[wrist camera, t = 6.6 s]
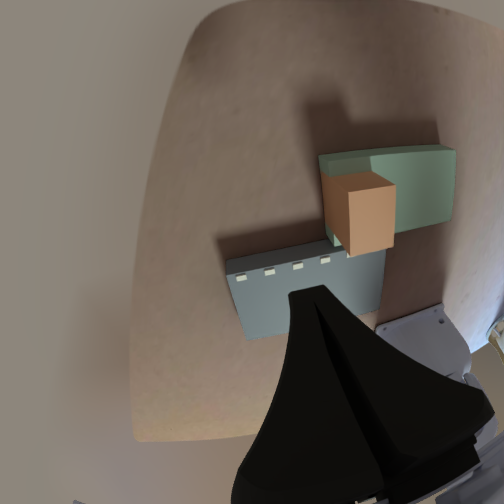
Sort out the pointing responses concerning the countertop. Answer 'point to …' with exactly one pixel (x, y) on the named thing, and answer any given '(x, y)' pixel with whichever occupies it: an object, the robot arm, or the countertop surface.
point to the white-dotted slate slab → (301, 282)
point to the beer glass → (497, 336)
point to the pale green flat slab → (385, 193)
